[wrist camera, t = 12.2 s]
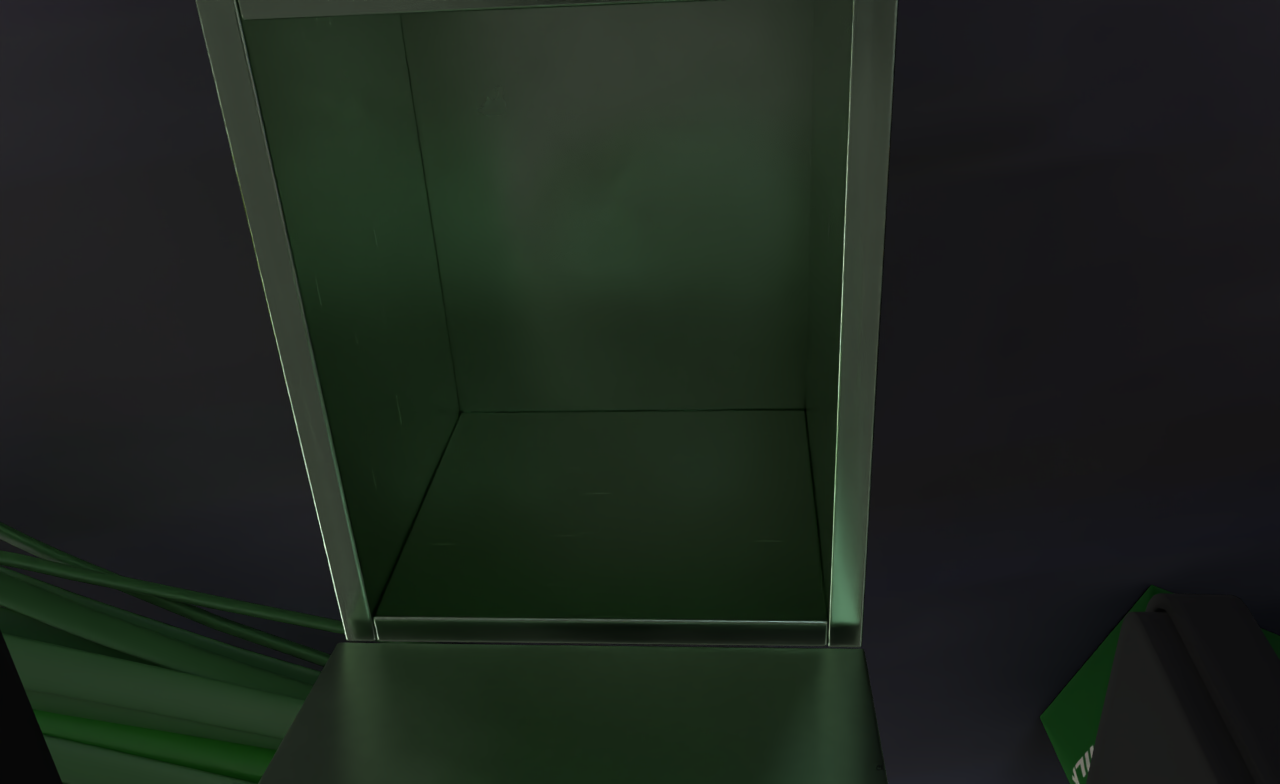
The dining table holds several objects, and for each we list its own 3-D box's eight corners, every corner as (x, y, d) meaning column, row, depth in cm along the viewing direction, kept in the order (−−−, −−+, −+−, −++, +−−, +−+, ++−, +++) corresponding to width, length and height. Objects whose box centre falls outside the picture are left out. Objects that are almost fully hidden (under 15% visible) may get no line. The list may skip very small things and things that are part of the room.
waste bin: (364, -88, 29) (187, -23, 20) (846, -113, 28) (902, -56, 19) (445, 420, 37) (345, 642, 27) (828, 418, 36) (862, 649, 26)
